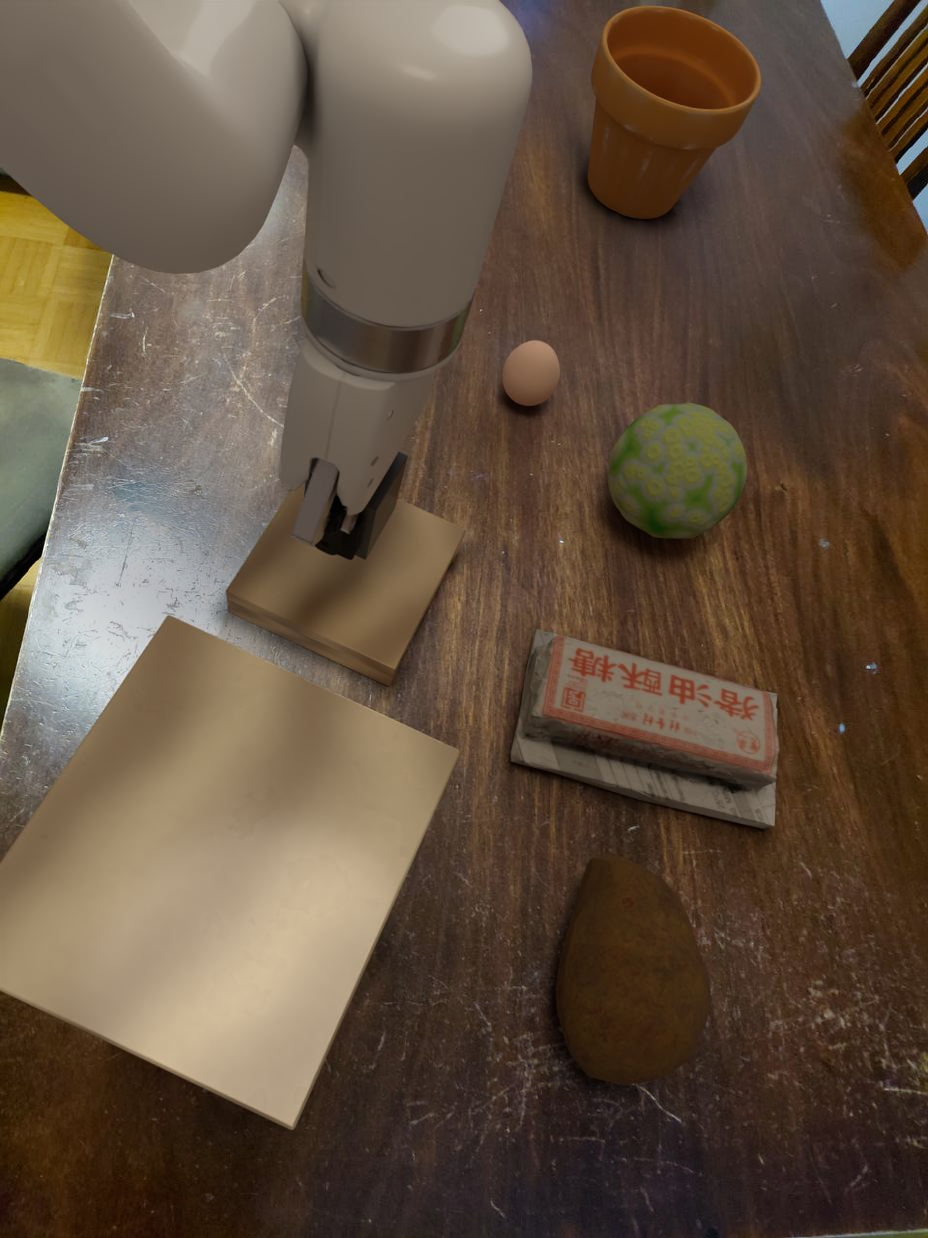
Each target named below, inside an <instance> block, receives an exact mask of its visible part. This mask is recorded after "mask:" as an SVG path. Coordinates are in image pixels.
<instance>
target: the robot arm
mask: <svg viewBox="0 0 928 1238" xmlns="http://www.w3.org/2000/svg"><path fill="white" fill-rule="evenodd" d="M532 65H533V64H532V55H531V49H530V46H529V43H528V40H527V37H526V35H525V32H524V30H523V27H522V26H521V25H520V23H519V22H518V20H517V19H516V17H515V16H514V14H513V13H512V12H511V11H510V10H509V9H508V8H507V7H506V6H505V5H504V4H503V2H501V0H0V168H1V169H2V170H3V171H4V172H5V173H6V174H7V175H8V176H9V177H10V178H11V179H13V180H14V181H15V182H16V183H17V184H18V185H19V186H20V187H21V188H22V189H24V190H25V191H26V192H27V193H28V194H29V195H30V196H31V197H32V198H33V199H35V200H36V201H37V202H38V203H39V204H41V205H42V206H43V207H45V209H47V211H49V212H50V213H52V214H53V215H54V216H55V217H56V218H57V219H58V220H60V221H61V222H62V223H63V224H65V225H66V226H68V227H69V228H70V229H71V230H73V231H74V232H76V233H77V234H79V235H80V236H82V237H83V238H85V239H86V240H88V241H89V242H91V243H92V244H94V245H95V246H97V247H98V248H100V249H101V250H104V251H105V252H107V253H109V254H111V255H113V256H115V257H117V258H119V259H121V260H123V261H125V262H126V263H129V264H132V265H135V266H138V267H141V268H143V269H146V270H151V271H154V272H158V273H164V274H170V275H182V274H183V275H185V274H200V273H204V272H207V271H211V270H213V269H217V268H219V267H221V266H223V265H225V264H227V263H228V262H230V261H232V260H233V259H235V258H237V257H238V256H239V255H240V254H241V253H242V252H243V251H244V250H245V249H246V248H247V247H248V246H249V245H250V244H251V243H252V242H253V241H254V239H256V237H257V236H258V234H259V232H260V231H261V229H262V228H263V226H264V225H265V223H266V221H267V218H268V216H269V214H270V212H271V209H272V207H273V204H274V202H275V200H276V198H277V195H278V192H279V189H280V186H281V183H282V181H283V178H284V175H285V173H286V170H287V167H288V163H289V160H290V157H291V154H292V152H293V151H292V150H293V147H294V146H295V147H297V148H299V150H301V152H302V153H303V154H304V156H305V159H306V162H307V190H306V191H307V192H306V207H305V208H306V209H305V223H304V224H305V226H304V241H303V242H304V245H303V250H302V251H303V252H302V266H301V267H302V268H301V281H300V283H301V286H300V302H299V315H300V321H301V326H302V327H303V330H304V333H305V337H304V339H303V341H302V344H301V346H300V349H299V352H298V356H297V358H296V363H295V366H294V370H293V374H292V378H291V382H290V387H289V393H288V397H287V402H286V408H285V416H284V421H283V422H284V423H283V424H284V425H283V429H282V437H281V446H280V455H279V464H278V465H279V466H278V475H279V480H280V483H281V485H283V486H285V488H287V489H289V490H290V491H291V490H293V491H296V490H297V489H298V488H299V487H300V486H301V485H302V484H303V483H304V482H306V481H307V480H308V479H309V477H310V475H311V472H312V473H313V474H312V477H311V479H310V482H309V485H308V488H307V491H306V494H305V496H304V499H303V502H302V505H301V508H300V511H299V513H298V516H297V519H296V522H295V525H294V528H293V530H292V534H291V537H292V538H294V539H296V540H298V541H301V542H303V543H305V544H307V545H309V546H311V547H313V546H315V547H316V548H317V549H318V550H320V551H322V552H324V553H326V554H329V555H339V556H341V557H344V558H346V559H348V560H352V559H353V558H354V556H355V554H356V553H357V548H358V543H359V538H360V533H361V528H362V522H363V520H361V519H360V518H359V517H358V514H359V512H361V511H362V510H363V509H364V508H365V506H366V505H367V504H368V502H369V500H370V499H371V497H372V496H373V494H374V492H375V491H376V489H377V487H378V486H379V484H380V482H381V481H382V479H383V477H384V476H385V474H386V472H387V471H388V469H389V467H390V466H391V464H392V462H393V461H394V459H395V457H396V456H397V454H398V452H400V451H401V449H402V447H403V445H404V444H405V442H406V440H407V439H408V436H409V435H410V432H411V431H412V430H413V428H414V427H415V424H416V422H417V421H418V419H419V417H420V415H421V413H422V412H423V410H424V407H425V405H426V404H427V401H428V398H429V396H430V393H431V392H432V391H431V390H432V388H433V385H434V381H435V378H436V376H437V375H436V374H437V372H438V371H439V370H441V369H443V368H444V367H445V366H446V365H447V364H449V363H450V361H451V360H452V359H453V358H454V357H455V356H456V354H457V352H458V351H459V349H460V347H461V343H462V340H463V337H464V333H465V330H466V326H467V323H468V319H469V315H470V312H471V308H472V305H473V302H474V298H475V295H476V290H477V287H478V283H479V279H480V277H481V273H482V269H483V265H484V262H485V258H486V255H487V251H488V248H489V244H490V240H491V236H492V234H493V230H494V227H495V223H496V219H497V217H498V216H497V215H498V212H499V208H500V205H501V202H502V198H503V195H504V191H505V187H506V183H507V179H508V176H509V173H510V169H511V166H512V163H513V159H514V155H515V151H516V147H517V145H518V141H519V137H520V134H521V130H522V127H523V124H524V121H525V116H526V113H527V108H528V103H529V99H530V95H531V90H532V86H533V85H532V84H533V66H532ZM335 495H336V496H338V497H339V498H340V501H341V503H342V504H340V503H338V502H335V501H333V500H334V497H335Z"/></svg>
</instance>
